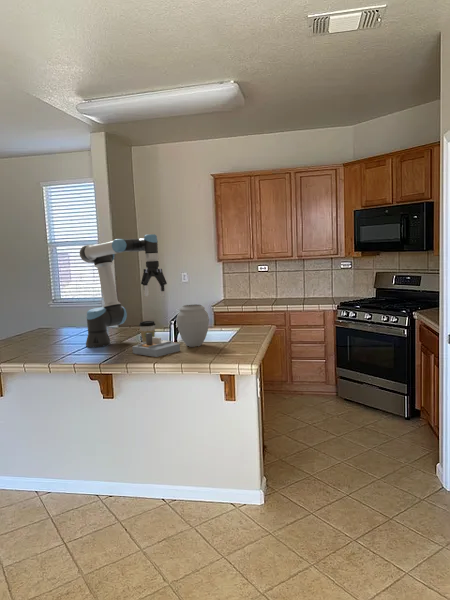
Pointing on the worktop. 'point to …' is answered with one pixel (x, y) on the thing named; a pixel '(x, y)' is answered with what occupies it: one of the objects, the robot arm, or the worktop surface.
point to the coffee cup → (147, 329)
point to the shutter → (157, 340)
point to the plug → (148, 340)
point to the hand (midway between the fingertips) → (154, 296)
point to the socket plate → (156, 349)
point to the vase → (193, 324)
